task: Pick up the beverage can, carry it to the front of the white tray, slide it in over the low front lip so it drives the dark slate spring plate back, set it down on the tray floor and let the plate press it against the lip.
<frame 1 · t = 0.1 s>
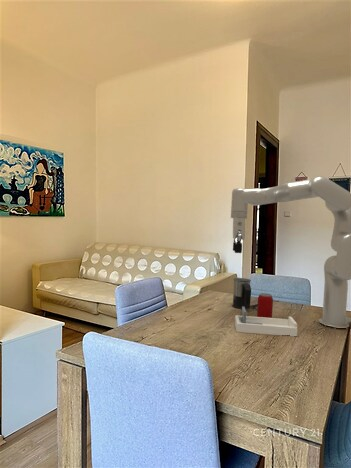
hand: (237, 251, 151), 31 cm above the table, tool pointing down, fingers open, 9 cm apart
white tray: (264, 329, 137), on the table
pusher: (252, 317, 137), point 5 cm above the table, slide at 0.0 cm
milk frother: (248, 307, 172), on the table
beverage can: (264, 320, 150), on the table
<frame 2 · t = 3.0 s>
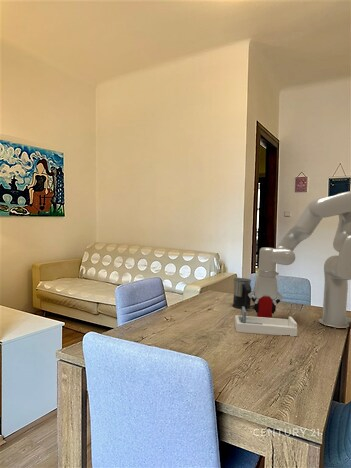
hand: (264, 312, 150), 4 cm above the table, tool pointing down, fingers closed on beverage can, 6 cm apart
beverage can: (264, 320, 150), on the table, touching gripper
everything else where it was.
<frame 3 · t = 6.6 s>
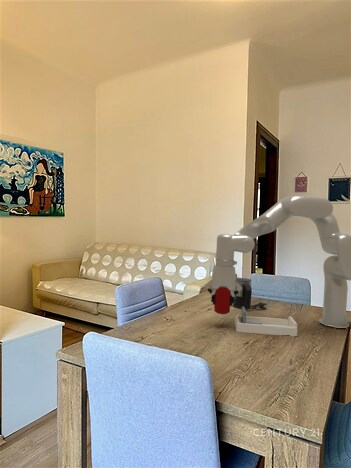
hand: (222, 304, 139), 10 cm above the table, tool pointing down, fingers closed on beverage can, 6 cm apart
beverage can: (221, 313, 139), point 6 cm above the table, touching gripper
everything else where it was.
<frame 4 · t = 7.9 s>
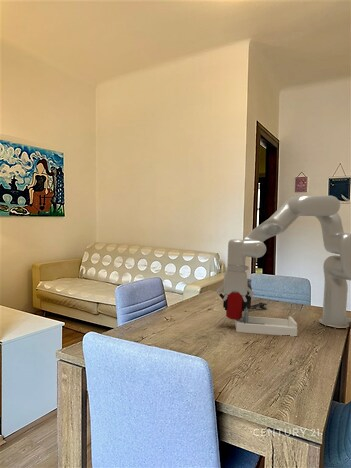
hand: (234, 309, 138), 8 cm above the table, tool pointing down, fingers closed on beverage can, 6 cm apart
pusher: (254, 317, 137), point 5 cm above the table, slide at 0.9 cm, touching gripper
beverage can: (233, 318, 139), point 4 cm above the table, touching gripper
everything else where it was.
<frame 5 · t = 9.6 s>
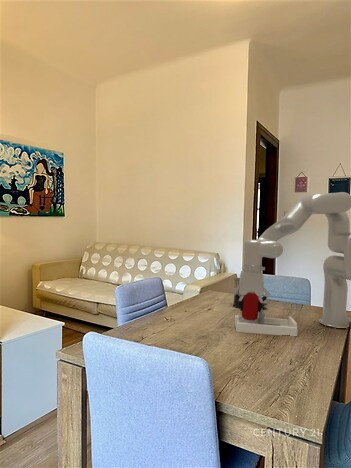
hand: (249, 310, 137), 8 cm above the table, tool pointing down, fingers closed on beverage can, 6 cm apart
pusher: (270, 319, 137), point 5 cm above the table, slide at 7.4 cm
beverage can: (249, 319, 138), point 4 cm above the table, touching gripper
everything else where it was.
when the fingers open (5 cm above the table, at t = 10.6 s): beverage can stays where it is, resting on white tray.
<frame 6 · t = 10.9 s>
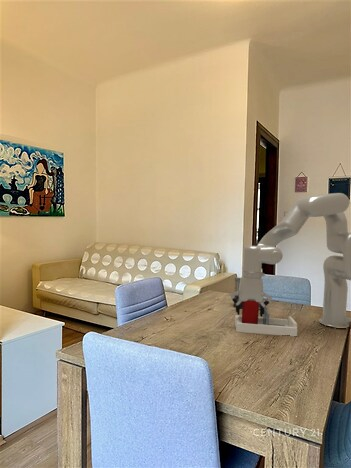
hand: (249, 314, 138), 6 cm above the table, tool pointing down, fingers open, 9 cm apart
pusher: (275, 319, 136), point 5 cm above the table, slide at 9.3 cm, touching gripper
beverage can: (249, 326, 138), point 1 cm above the table, touching white tray
everything else where it was.
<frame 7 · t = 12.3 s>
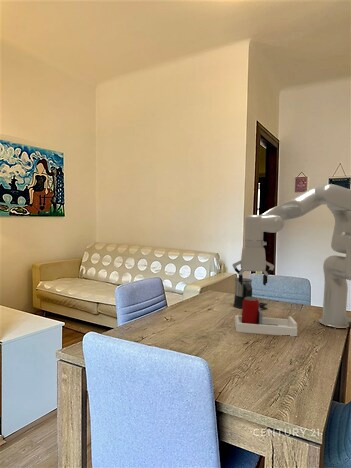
hand: (252, 284, 137), 19 cm above the table, tool pointing down, fingers open, 9 cm apart
pusher: (268, 318, 137), point 5 cm above the table, slide at 6.5 cm, touching beverage can
beverage can: (249, 326, 138), point 1 cm above the table, touching white tray, pusher
everything else where it was.
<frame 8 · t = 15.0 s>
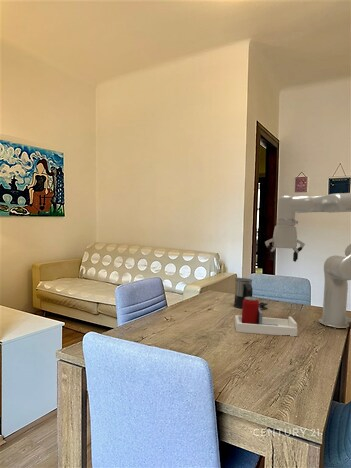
hand: (283, 260, 147), 28 cm above the table, tool pointing down, fingers open, 9 cm apart
pusher: (268, 318, 137), point 5 cm above the table, slide at 6.5 cm
beverage can: (249, 326, 138), point 1 cm above the table, touching white tray
everything else where it was.
at the end: beverage can inside the target area on the white tray (1.3 cm from its centre), point 0.8 cm above the white tray's base; beverage can tilted 0°; pusher slide at 6.5 cm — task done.
